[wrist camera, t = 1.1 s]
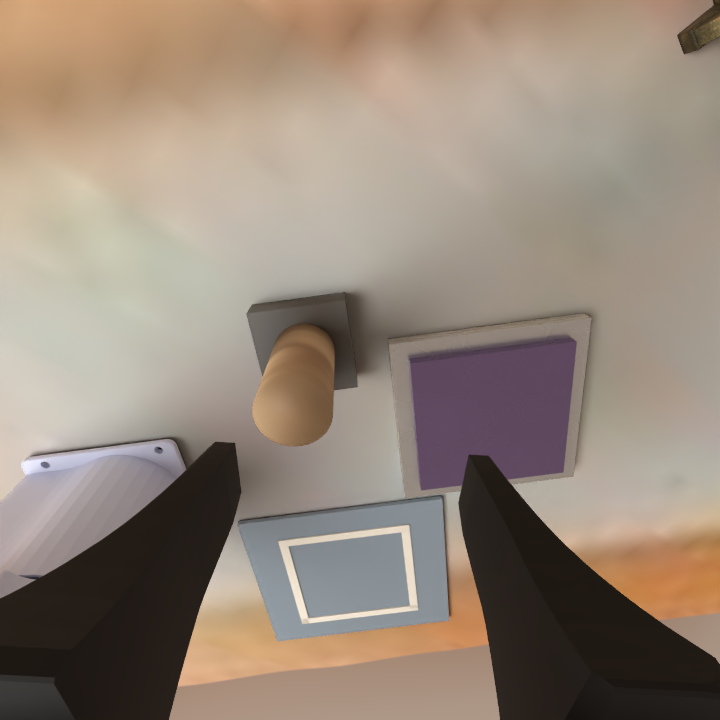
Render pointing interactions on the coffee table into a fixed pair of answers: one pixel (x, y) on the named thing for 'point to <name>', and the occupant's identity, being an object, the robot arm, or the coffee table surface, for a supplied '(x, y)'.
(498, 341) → the ink pad
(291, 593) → the marked board
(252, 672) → the coffee table surface
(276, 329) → the wooden stamp
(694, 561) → the coffee table surface
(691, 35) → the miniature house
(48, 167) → the coffee table surface
